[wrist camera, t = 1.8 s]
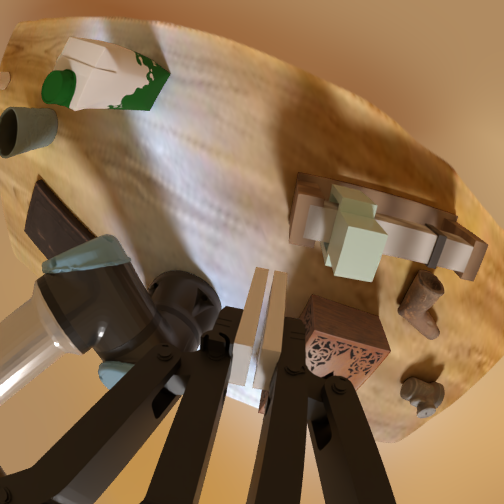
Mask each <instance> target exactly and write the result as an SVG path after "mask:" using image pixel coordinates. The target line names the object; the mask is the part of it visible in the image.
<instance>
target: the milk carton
mask: <svg viewBox="0 0 504 504" xmlns="http://www.w3.org/2000/svg"><path fill="white" fill-rule="evenodd" d="M169 76H170V73H169V72H167V71H166V70H165V69H163V68H162V67H161V66H159V65H158V64H157V63H155V62H154V61H153V60H151V59H149V58H147V57H145V56H143V55H141V54H139V53H137V52H134V51H132V50H129V49H127V48H124V47H121V46H119V45H116V44H112V43H108V42H104V41H99V40H92V39H85V38H76V37H69V39H68V41H67V43H66V45H65V47H64V49H63V51H62V53H61V55H59V57H58V59H57V61H56V64H55V66H54V69H53V71H52V72H51V73H50V74H49V75H48V76H47V77H46V79H45V81H44V83H43V86H42V92H41V95H42V99H43V101H44V102H45V103H46V104H57V105H60V106H65V107H67V108H71V109H72V110H74V111H77V110H82V109H87V108H94V109H122V110H144V111H150V109H151V107H152V106H153V104H154V102H155V100H156V98H157V96H158V95H159V93H160V91H161V89H162V88H163V86H164V84H165V83H166V81H167V79H168V78H169Z"/></svg>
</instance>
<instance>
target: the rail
mask: <svg viewBox="0 0 504 504" xmlns="http://www.w3.org/2000/svg"><path fill="white" fill-rule="evenodd" d="M332 184H335V185H339V186H344V187H348V188H352V189H356V190H360V191H362V192H363V193H364V194H365V195H366V196H367V197H369V198H370V199H371V200H372V201H373V202H374V203H375V204H376V205H378V206H377V210H376V213H375V217H374V219H375V220H376V221H377V223H378V224H379V225H380V226H381V227H382V228H383V229H384V231H385V232H386V233H387V234H388V238H387V241H386V244H385V247H384V250H383V253H382V254H384V255H389V256H394V257H398V258H403V259H407V260H412V261H416V262H421V263H425V265H426V266H427V267H429V268H434V269H436V266H438V267H442V268H446V269H451V270H453V271H454V272H455V273H456V274H457V275H458V276H459V277H460V278H461V279H464V280H469V281H474V279H475V277H476V275H477V272H478V270H479V268H480V265H481V263H482V260H483V258H484V255H485V253H486V250H487V247H488V244H487V243H485V242H484V241H483V240H481V239H480V238H479V237H477V236H476V235H474V234H473V233H472V232H470V231H469V230H467V229H466V228H465V227H463V226H462V225H460V224H459V223H457V222H456V221H457V218H458V216H456V215H454V214H451V213H448V212H446V211H443V210H440V209H437V208H434V207H431V206H428V205H425V204H422V203H419V202H415V201H412V200H409V199H406V198H402V197H399V196H395V195H392V194H388V193H385V192H381V191H377V190H374V189H370V188H366V187H362V186H358V185H354V184H350V183H346V182H342V181H337V180H333V179H329V178H324V177H319V176H315V175H310V174H305V173H300V172H298V176H297V182H296V187H295V193H294V198H293V203H292V209H291V214H290V219H289V224H290V227H289V243H290V244H295V245H300V246H306V247H311V248H314V244H315V240H317V241H322V242H327V243H330V239H331V235H332V231H333V227H334V223H335V219H336V215H337V211H338V207H339V203H334V202H330V201H329V197H330V192H331V187H332Z"/></svg>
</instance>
